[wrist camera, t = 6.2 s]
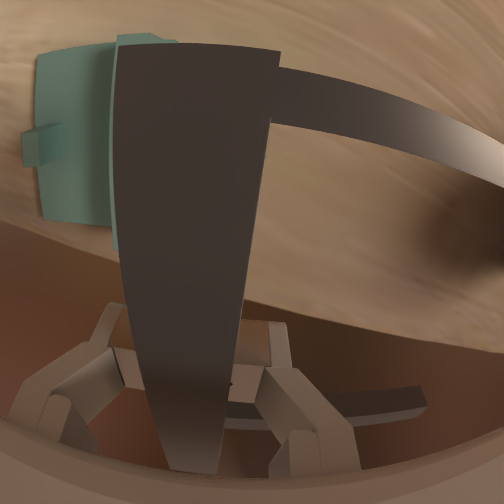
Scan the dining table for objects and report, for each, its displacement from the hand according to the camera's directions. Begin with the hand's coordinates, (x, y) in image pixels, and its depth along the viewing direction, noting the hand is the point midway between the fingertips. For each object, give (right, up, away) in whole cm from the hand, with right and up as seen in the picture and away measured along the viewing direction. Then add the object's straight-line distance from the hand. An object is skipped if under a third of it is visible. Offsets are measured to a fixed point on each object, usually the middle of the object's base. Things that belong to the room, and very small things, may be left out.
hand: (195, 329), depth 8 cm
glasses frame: (+5, 0, +2) cm, 6 cm away
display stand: (-12, +13, +14) cm, 23 cm away
